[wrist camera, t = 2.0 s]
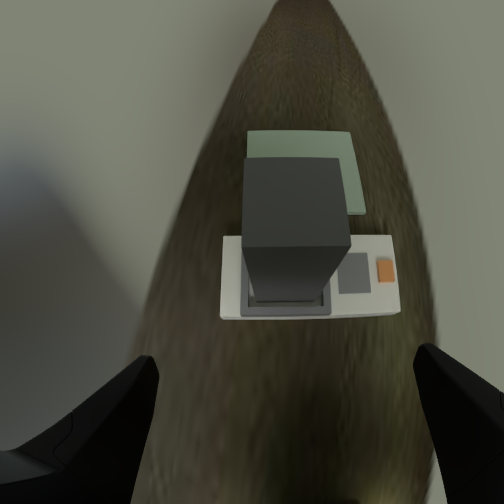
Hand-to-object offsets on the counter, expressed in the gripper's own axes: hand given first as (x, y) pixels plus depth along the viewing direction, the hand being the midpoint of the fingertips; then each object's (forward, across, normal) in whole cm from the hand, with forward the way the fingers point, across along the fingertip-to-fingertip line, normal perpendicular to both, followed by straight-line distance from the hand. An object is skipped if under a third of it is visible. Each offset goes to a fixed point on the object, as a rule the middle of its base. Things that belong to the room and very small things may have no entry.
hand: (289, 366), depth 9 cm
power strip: (+13, -2, +4) cm, 14 cm away
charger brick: (+12, 0, +3) cm, 12 cm away
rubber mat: (+20, -3, -3) cm, 20 cm away
